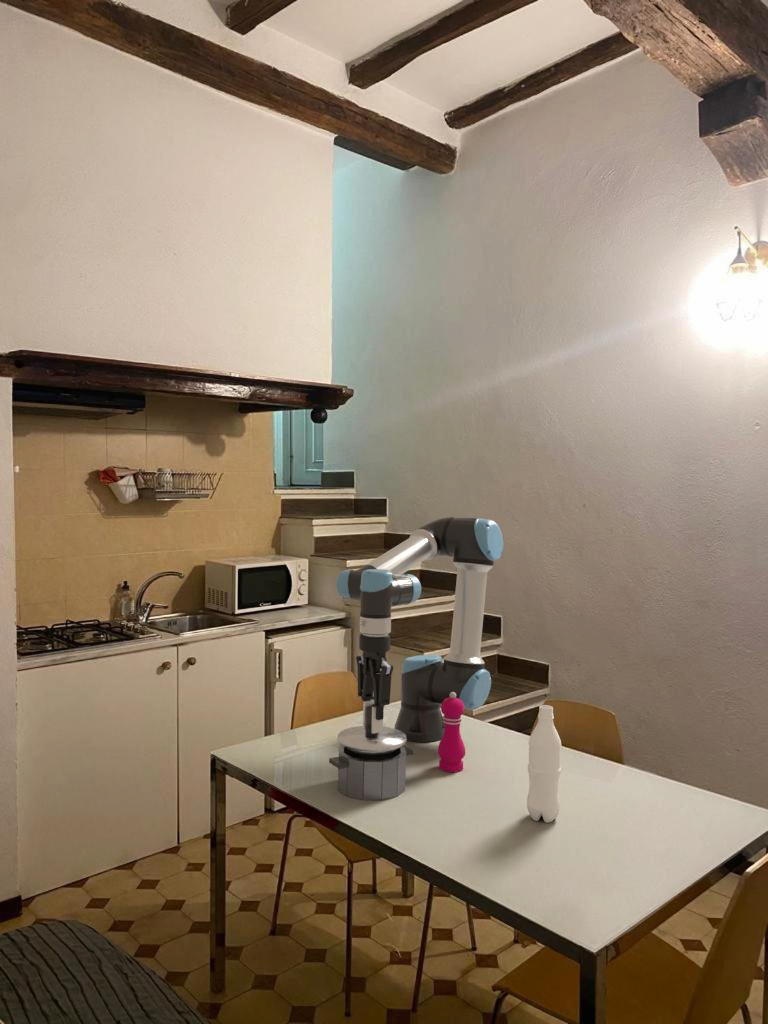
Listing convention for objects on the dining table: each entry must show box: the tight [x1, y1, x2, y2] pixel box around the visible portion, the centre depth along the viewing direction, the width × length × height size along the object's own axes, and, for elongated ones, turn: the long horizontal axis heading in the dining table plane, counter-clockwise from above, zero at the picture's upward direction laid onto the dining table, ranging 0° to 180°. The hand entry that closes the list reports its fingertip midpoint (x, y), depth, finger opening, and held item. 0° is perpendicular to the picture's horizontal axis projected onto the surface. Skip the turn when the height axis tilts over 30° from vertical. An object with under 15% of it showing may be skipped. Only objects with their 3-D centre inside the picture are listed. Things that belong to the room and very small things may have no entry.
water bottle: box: [526, 704, 562, 824], centre depth 176 cm, size 7×7×25 cm
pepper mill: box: [437, 692, 466, 773], centre depth 206 cm, size 7×7×20 cm
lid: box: [337, 705, 407, 755], centre depth 192 cm, size 17×17×10 cm
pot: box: [328, 745, 415, 801], centre depth 192 cm, size 21×16×9 cm
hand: (372, 729), depth 192 cm, fingers closed on lid, 3 cm apart
